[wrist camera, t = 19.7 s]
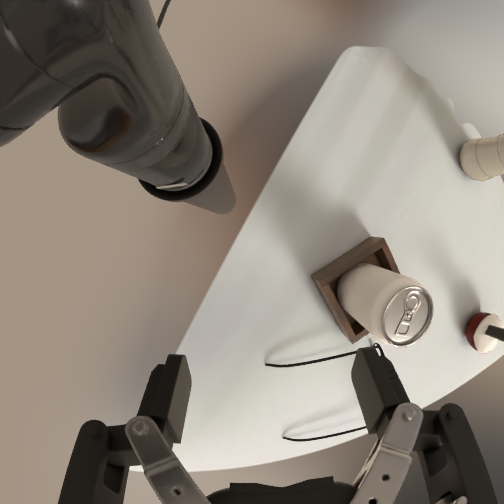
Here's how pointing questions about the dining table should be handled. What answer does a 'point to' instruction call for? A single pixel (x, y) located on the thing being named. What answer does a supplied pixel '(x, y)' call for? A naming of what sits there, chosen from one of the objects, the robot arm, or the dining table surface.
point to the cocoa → (484, 332)
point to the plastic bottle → (483, 158)
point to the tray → (329, 276)
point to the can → (386, 303)
